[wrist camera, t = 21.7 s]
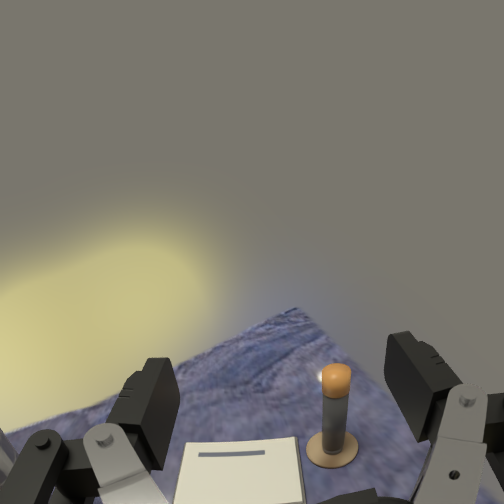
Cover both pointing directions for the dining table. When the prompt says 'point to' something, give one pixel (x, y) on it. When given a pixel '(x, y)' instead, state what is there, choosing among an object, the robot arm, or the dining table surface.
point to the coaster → (331, 461)
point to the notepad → (241, 473)
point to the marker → (335, 406)
